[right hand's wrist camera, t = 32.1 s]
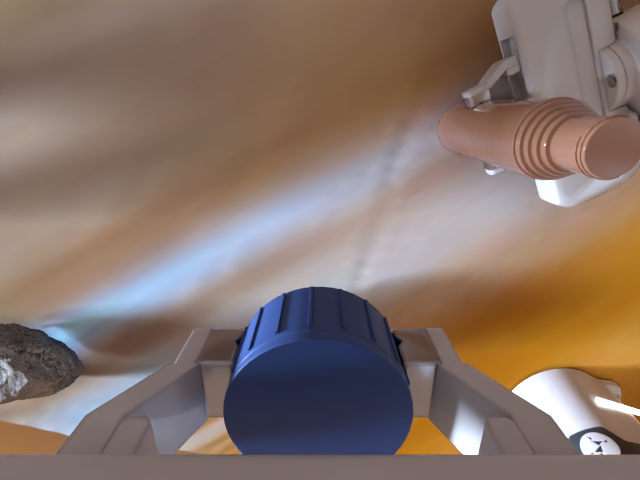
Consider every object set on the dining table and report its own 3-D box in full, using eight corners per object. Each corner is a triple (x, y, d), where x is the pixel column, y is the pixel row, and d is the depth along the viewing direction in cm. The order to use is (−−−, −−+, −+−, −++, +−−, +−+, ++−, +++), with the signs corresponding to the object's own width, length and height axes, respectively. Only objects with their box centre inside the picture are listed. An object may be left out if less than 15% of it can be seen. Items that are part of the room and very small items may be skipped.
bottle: (433, 111, 38) (558, 114, 18) (483, 94, 37) (670, 77, 17) (443, 159, 39) (567, 211, 20) (491, 143, 39) (669, 180, 19)
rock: (-15, 362, 49) (-62, 398, 43) (-18, 311, 46) (-69, 341, 40) (83, 382, 50) (51, 419, 44) (86, 333, 48) (52, 365, 42)
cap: (255, 414, 11) (239, 489, 9) (229, 289, 10) (203, 344, 7) (395, 406, 11) (414, 479, 9) (394, 277, 10) (416, 329, 7)
